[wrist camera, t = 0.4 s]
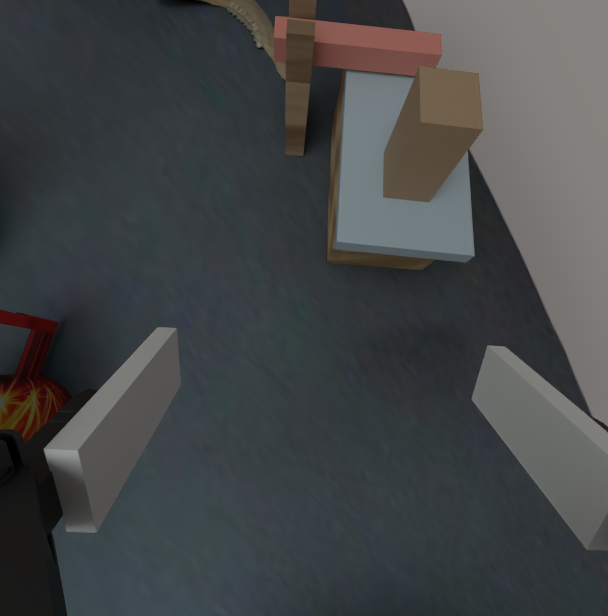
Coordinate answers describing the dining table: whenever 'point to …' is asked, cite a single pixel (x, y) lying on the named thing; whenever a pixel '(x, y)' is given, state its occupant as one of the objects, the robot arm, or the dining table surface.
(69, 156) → the dining table surface
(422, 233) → the lid
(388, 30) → the bar
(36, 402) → the mug
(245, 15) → the jawbone
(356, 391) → the dining table surface
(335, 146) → the open wooden box
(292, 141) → the post
